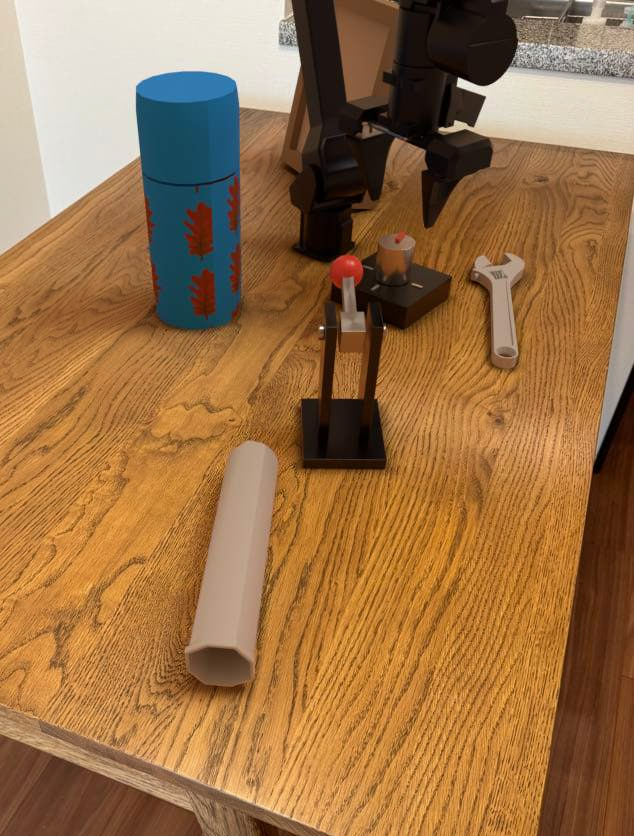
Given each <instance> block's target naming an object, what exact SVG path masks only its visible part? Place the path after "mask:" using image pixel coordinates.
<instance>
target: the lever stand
mask: <svg viewBox="0 0 634 836" xmlns="http://www.w3.org/2000/svg"><path fill="white" fill-rule="evenodd" d="M336 308H337V307H336V303H335V302H333V301H325V302H324V303H323V311H322V312H323V313H322V314H323V315H322V323H319V324H317V325H318V326H317V340H318V341H320V342H321V343H320V355H319V356H320V358H319V369H318V371H319V372H318V384H317V385H318V386H317V397H316V398H312V397H311V398H303V397H302V398H300V430H301V431H300V432H301V453H302V454H301V455H302V456H301V457H302V459H301V460H302V469H329V470H330V469H331V470H333V469H335V470H337V469H341V470H342V469H343V470H347V469H349V470H386V469H387V462H388V458H387V453H386V445H385V439H384V433H383V432H384V431H383V426H382V420H381V413H380V406H379V400H378V398H376V392H377V383H378V376H379V375H378V374H379V368H380V362H381V361H380V360H381V353H382V347H383V346H382V345H383V341H385V340H386V336H387V325H386V323H384V322H383V319H382V314H381V308H380V303H379V302H368V310H367V315H366V318H365V324H366V337H365V344H364V351H363V353H362V356H361V364H360V371H359V381H358V389H357V398H333V387H334V377H335V376H334V375H335V366H336V365H335V363H336V353H337V352H336V351H337V342H338V325H339V324H338V317H337V309H336Z"/></svg>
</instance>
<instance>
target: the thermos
mask: <svg viewBox="0 0 634 836" xmlns="http://www.w3.org/2000/svg"><path fill="white" fill-rule="evenodd" d="M238 91H239V90H238V85H237V81H236V80H235V79H233V78H232V77H229V76H228V75H224V74H221V73H218V72H211V71H202V70H181V71H172V72H164V73H161V74H157V75H152V76H150V77H147V78H145V79H143V80H141V81H140V82H138V83H137V85H135V115H136V117H135V118H136V126H137V135H138V146H139V157H140V158H139V159H140V167H141V176H142V177H141V179H142V186H143V199H144V207H145V217H146V228H147V239H148V247H149V258H150V269H151V278H152V287H153V294H154V299H155V306H156V313H157V316H158V317H159V318H160V319H161V320H162V322H163V323H166V324H168V325H170V326H172V327H175V328H180V329H184V330H196V331H197V330H207V329H212V328H214V329H215V328H217V327H220V326H223V325H226V324H228V323H230V322H231V321H232V320H233V319H235V318H236V317H237V316H238V314H239V312H240V309H241V299H242V298H241V296H242V223H241V222H242V220H241V219H242V218H241V217H242V216H241V215H242V214H241V211H242V210H241V146H240V145H241V139H240V138H241V136H240V135H241V134H240V133H241V131H240V130H241V129H240V126H241V125H240V123H241V122H240V101H239V100H240V98H239V92H238Z"/></svg>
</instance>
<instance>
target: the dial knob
mask: <svg viewBox="0 0 634 836" xmlns="http://www.w3.org/2000/svg"><path fill="white" fill-rule="evenodd" d="M416 244H417V242H416V240H415V239H414V238H413V237H412V236H410V235H407V234H406V232H405V231H400V232H399V233H387V234H384V235H382V236H380V237H379V238H378V241H377V249H376V252H377V256H376V265H375V273H374V277H375V279H376V280H377V281H378V282H380V283H382V284H385V285H392V286H396V285H402V284H405V283H407V282H408V281H409V280H410V277H411V271H412V264H413V263H414V257H415V251H416Z"/></svg>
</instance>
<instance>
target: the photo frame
mask: <svg viewBox="0 0 634 836" xmlns="http://www.w3.org/2000/svg"><path fill="white" fill-rule="evenodd" d="M334 5H335V12H336V20H337V28H338V36H339V43H340V51H341V59H342V66H343V74H344V82H345V90H346V97H347V102H348V101H352V100H356V99H360V98H364V97H368V96H372V95H378V96H381V97H384V98H386V99H389V92H390V84H387V83H384V82H382V78H383V71H385V70H389V69H392V65H393V56H394V47H395V38H396V29H397V20H398V10H399V3H397V2H394V1H391V0H334ZM309 130H310V124H309V117H308V110H307V103H306V97H305V90H304V83H303V76H302V70H301V65H300V66H299V71H298V75H297V80H296V85H295V89H294V94H293V99H292V103H291V108H290V113H289V117H288V122H287V127H286V132H285V136H284V141H283V145H282V151H281V155H280V160H281V161H282V162H283V163H285V164H286V165H288V166H289V167H290V168H292V169H293V170H295V171H296V172H297V173H298V174H300V172H301V171H302V158H301V154H302V150H303V147H304V144H305V142H306V139H307V136H308V133H309ZM392 145H393V143H392V144H391V146H390V148H389V150H388V155H387V160H388V158H389V155H390V152H391V149H392ZM375 202H376V201H372V200H371V199H370V196H369V194H368V191H367V190H366V193H365V196H364V199H363V202H362V203H359V204H358V203H356V204H352V209H355V210H357V209H358V210H374V206H375Z"/></svg>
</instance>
